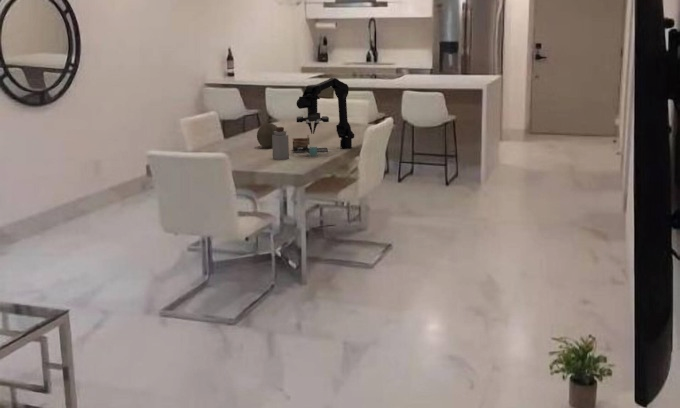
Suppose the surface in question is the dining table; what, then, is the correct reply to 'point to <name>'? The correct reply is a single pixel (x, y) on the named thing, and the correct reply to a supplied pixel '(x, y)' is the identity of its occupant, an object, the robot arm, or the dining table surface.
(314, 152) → the block
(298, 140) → the cart
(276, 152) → the perfume bottle
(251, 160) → the dining table surface
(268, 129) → the cantaloupe
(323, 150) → the rail
